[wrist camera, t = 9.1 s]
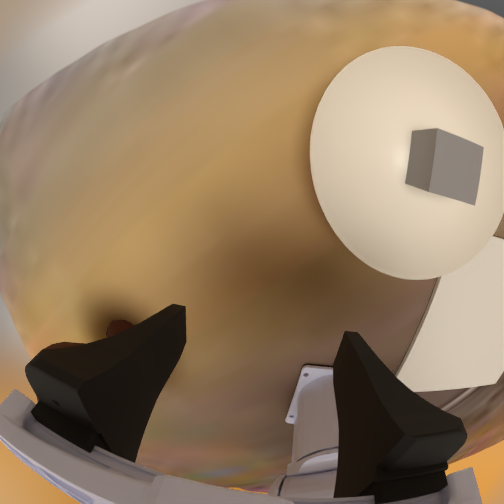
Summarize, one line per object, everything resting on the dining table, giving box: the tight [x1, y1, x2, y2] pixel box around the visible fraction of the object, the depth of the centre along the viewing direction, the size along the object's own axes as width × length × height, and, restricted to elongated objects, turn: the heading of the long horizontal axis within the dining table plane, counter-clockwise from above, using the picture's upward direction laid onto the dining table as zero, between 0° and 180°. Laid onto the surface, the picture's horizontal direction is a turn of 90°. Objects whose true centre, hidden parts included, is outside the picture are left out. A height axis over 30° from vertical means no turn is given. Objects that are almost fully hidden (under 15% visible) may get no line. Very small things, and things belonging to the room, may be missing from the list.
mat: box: [395, 236, 504, 392], centre depth 20 cm, size 18×18×1 cm
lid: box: [309, 46, 504, 280], centre depth 11 cm, size 14×14×4 cm
